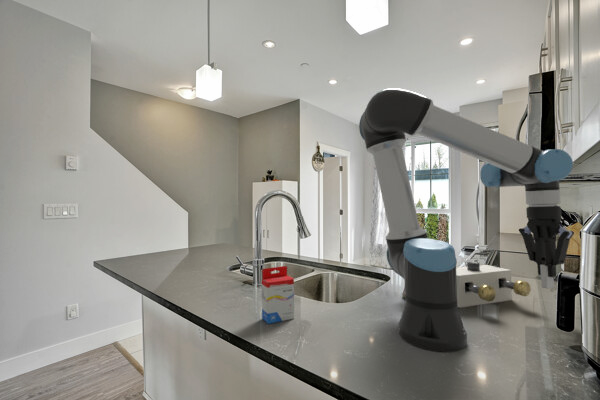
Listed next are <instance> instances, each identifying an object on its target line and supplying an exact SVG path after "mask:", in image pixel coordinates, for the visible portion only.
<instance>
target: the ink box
mask: <svg viewBox="0 0 600 400" xmlns="http://www.w3.org/2000/svg"><path fill="white" fill-rule="evenodd" d="M274 271H277V272H274ZM261 272H262V275H261V276H262V277H261V278H262V279H261V318H262V320H264V322H266V324H268V325H269V324H275V323H279V322H283V321H284V322H285V321H288V320H293V319H295V282H294V281H295V279H294V278H293V277H292V276H290V275H288V266H287V265H282V266H276V267H275V266H274V267H267V268H266V267H265V268H263V269H262V271H261ZM272 272H274V273H272Z"/></svg>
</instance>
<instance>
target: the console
mask: <svg viewBox="0 0 600 400" xmlns="http://www.w3.org/2000/svg"><path fill="white" fill-rule="evenodd" d="M456 278H457V308H459V309H460V308H466V307H473V306H479V305H481V306H482V305H487V304H494V303H500V302H508V301H513V289H509V288H506V287H502V286H499V279H502V280H506V281H510V282H512V270H511V269H508V268H502V267H498V266H495V265H489V264H480V271H471V270H467V266H461V267H459V266H458V267H456ZM465 283H469V284H472V285H475V286H478V287H480V286H481V285H488V286H491V287H493V288H494V289H495V291H496V296H495V298H494V300H493V301H490V302H489V301H486V300H483V299H481V298H480V297H479V295H478V294H477V293H474V292H471V291H468V290H465Z"/></svg>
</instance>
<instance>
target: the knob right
mask: <svg viewBox="0 0 600 400" xmlns="http://www.w3.org/2000/svg"><path fill="white" fill-rule="evenodd" d="M499 286H502V287H506V288H509V289H512V291H513V292H514V293H515V295H519V296H522V297H527V296H529V295H530V294H531V289H532V288H531V285H530V283H529V282H527V281H523V280H519V279H518V280H515V282H512V281H511V282H510V281H506V280H502V279H499Z"/></svg>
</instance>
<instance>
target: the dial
mask: <svg viewBox="0 0 600 400" xmlns="http://www.w3.org/2000/svg"><path fill="white" fill-rule="evenodd" d="M480 265H481V264H480V262H477V261H467V262H466V267H467V270H471V271H480Z"/></svg>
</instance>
